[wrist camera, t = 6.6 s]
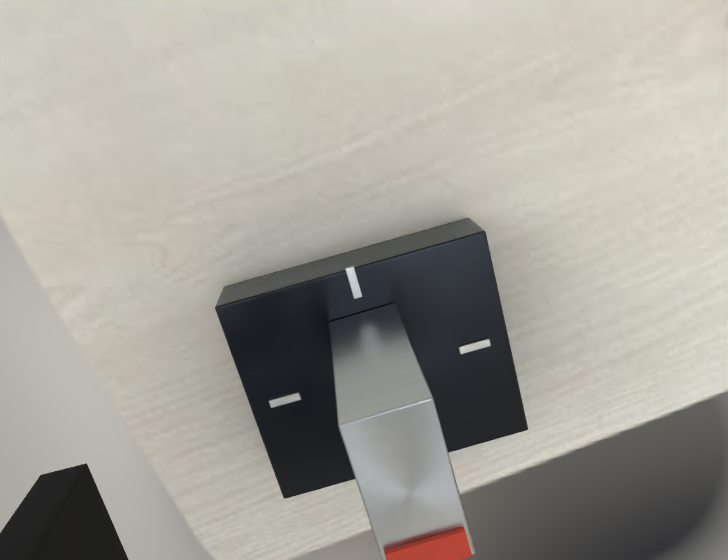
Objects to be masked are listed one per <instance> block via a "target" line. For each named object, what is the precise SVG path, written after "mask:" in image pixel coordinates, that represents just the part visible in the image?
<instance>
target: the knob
mask: <svg viewBox="0 0 728 560" xmlns="http://www.w3.org/2000/svg"><path fill="white" fill-rule="evenodd" d="M329 329H330V340H331V352H332V363H333V374H334V385H335V396H336V407H337V418H338V427H339V430H340V433H341V436H342V439H343V442H344V445H345V448H346V451H347V454H348V457H349V460H350V463H351V466H352V469H353V472H354V475H355V478H356V481H357V485H358V488H359V491H360V494H361V497H362V500H363V503H364V506H365V509H366V512H367V515H368V518H369V521H370V524H371V527H372V530H373V533H374V536H375V539H376V542H377V545H378V548H379V551H380V554H381V557H382V560H459V559H462V558H466V557H469V556H471V555H472V554H475V549H474V545H473V541H472V538H471V534H470V531H469V527H468V524H467V520H466V516H465V513H464V509H463V505H462V501H461V498H460V494H459V491H458V487H457V483H456V480H455V476H454V472H453V469H452V465H451V461H450V458H449V454H448V451H447V447H446V443H445V440H444V436H443V432H442V429H441V425H440V421H439V418H438V414H437V411H436V407H435V403H434V400H433V397H432V394H431V392H430V389H429V387H428V384H427V382H426V379H425V377H424V374H423V372H422V369H421V367H420V364H419V362H418V359H417V357H416V354H415V352H414V349H413V347H412V344H411V342H410V339H409V337H408V334H407V332H406V329H405V327H404V324H403V322H402V319H401V317H400V314H399V312H398V309H397V307H396V304H395V303H393V304H390V305H386V306H383V307H379V308H376V309H373V310H369V311H366V312H362V313H359V314H356V315H352V316H349V317H345V318H342V319H338V320H335V321H332V322H329Z"/></svg>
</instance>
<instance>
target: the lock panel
mask: <svg viewBox="0 0 728 560" xmlns="http://www.w3.org/2000/svg"><path fill="white" fill-rule="evenodd" d="M393 303H395V304H396V307H397V309H398V312H399V314H400V317H401V319H402V322H403V324H404V327H405V329H406V332H407V334H408V337H409V339H410V342H411V344H412V347H413V349H414V352H415V354H416V357H417V359H418V362H419V364H420V367H421V369H422V372H423V374H424V377H425V379H426V382H427V384H428V387H429V389H430V392H431V394H432V397H433V400H434V403H435V407H436V411H437V414H438V418H439V421H440V425H441V429H442V432H443V436H444V440H445V443H446V447H447V451H448V452H451V451H455V450H458V449H462V448H465V447H469V446H473V445H476V444H480V443H483V442H487V441H490V440H494V439H497V438H501V437H504V436H508V435H511V434H515V433H518V432H522V431H525V430H528V426H527V422H526V417H525V412H524V408H523V403H522V398H521V394H520V389H519V385H518V380H517V375H516V371H515V366H514V361H513V357H512V352H511V348H510V343H509V338H508V334H507V329H506V324H505V320H504V315H503V311H502V306H501V301H500V297H499V292H498V288H497V283H496V278H495V274H494V269H493V264H492V260H491V255H490V251H489V246H488V241H487V237H486V232H485V231H484V230H483V229H482V228H480V227H479V226H478V225H477V224H475V223H474V222H473V221H472V220H471V219H469V218H466V219H462V220H459V221H455V222H452V223H448V224H445V225H441V226H437V227H434V228H430V229H427V230H423V231H420V232H416V233H413V234H409V235H406V236H402V237H399V238H395V239H391V240H388V241H384V242H381V243H377V244H374V245H370V246H367V247H363V248H360V249H356V250H353V251H349V252H345V253H342V254H338V255H335V256H331V257H328V258H324V259H321V260H317V261H314V262H310V263H307V264H303V265H299V266H296V267H292V268H289V269H285V270H282V271H278V272H275V273H271V274H268V275H264V276H260V277H257V278H253V279H250V280H246V281H243V282H239V283H236V284H232V285H229V286H225V287H224V288H223V290H222V292H221V295H220V297H219V300H218V302H217V304H216V307H215V309H216V312H217V315H218V318H219V320H220V323H221V326H222V329H223V331H224V334H225V337H226V340H227V343H228V345H229V348H230V351H231V354H232V356H233V359H234V362H235V365H236V367H237V370H238V373H239V376H240V379H241V381H242V384H243V387H244V390H245V392H246V395H247V398H248V401H249V403H250V406H251V409H252V412H253V415H254V417H255V420H256V423H257V426H258V428H259V431H260V434H261V437H262V439H263V442H264V445H265V448H266V451H267V453H268V456H269V459H270V462H271V464H272V467H273V470H274V473H275V475H276V478H277V481H278V484H279V487H280V489H281V492H282V495H283V497H284V498H289V497H293V496H296V495H300V494H303V493H307V492H310V491H314V490H317V489H321V488H324V487H328V486H331V485H335V484H338V483H342V482H345V481H349V480H353V479H356V478H355V475H354V472H353V469H352V466H351V463H350V460H349V457H348V454H347V451H346V448H345V445H344V442H343V439H342V436H341V433H340V430H339V427H338V418H337V407H336V396H335V385H334V374H333V363H332V352H331V340H330V329H329V322H332V321H335V320H338V319H342V318H345V317H349V316H352V315H356V314H359V313H362V312H366V311H369V310H373V309H376V308H379V307H383V306H386V305H390V304H393Z"/></svg>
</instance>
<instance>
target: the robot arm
mask: <svg viewBox="0 0 728 560" xmlns="http://www.w3.org/2000/svg"><path fill="white" fill-rule="evenodd" d="M0 560H128V558H127V555H126V553H125V551H124V549H123V546H122V544H121V541H120V539H119V537H118V535H117V532H116V530H115V528H114V525H113V523H112V521H111V519H110V516H109V514H108V511H107V509H106V507H105V505H104V503H103V500H102V498H101V495H100V493H99V491H98V489H97V486H96V484H95V482H94V479H93V477H92V474H91V472H90V470H89V468H88V465H87V464H83V465H79V466H75V467H71V468H67V469H63V470H59V471H55V472H51V473H47V474H43V475H40V477H39V478H38V480H37V481H36V483H35V484H34V486H33V487H32V488H31V490H30V491H29V493H28V494H27V495H26V497H25V498H24V500H23V501H22V503H21V504H20V506H19V507H18V508H17V510H16V511H15V513H14V514H13V516H12V517H11V519H10V520H9V521H8V523H7V524H6V526H5V527H4V529H3V530H2V531H1V533H0Z"/></svg>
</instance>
